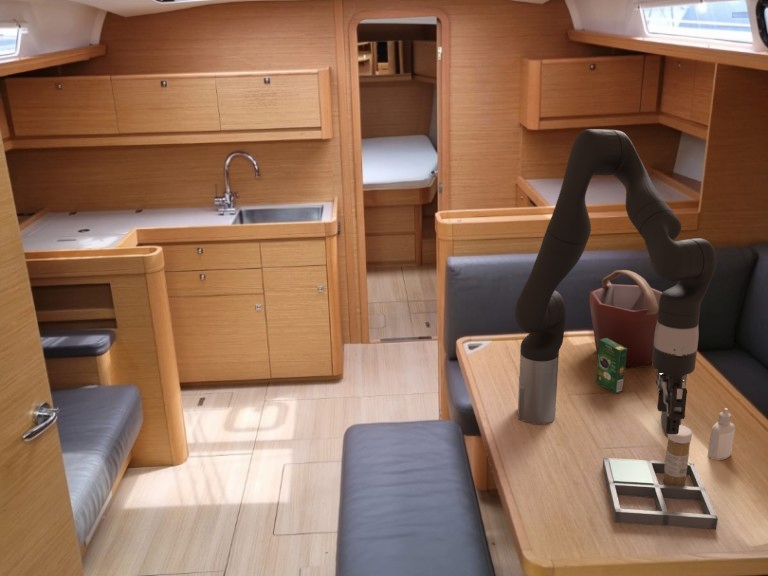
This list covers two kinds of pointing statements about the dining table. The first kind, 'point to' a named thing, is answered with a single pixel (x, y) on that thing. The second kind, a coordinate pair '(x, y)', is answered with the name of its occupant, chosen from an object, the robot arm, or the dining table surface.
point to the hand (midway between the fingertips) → (667, 421)
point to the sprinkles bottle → (677, 457)
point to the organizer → (655, 494)
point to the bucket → (626, 316)
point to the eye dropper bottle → (721, 437)
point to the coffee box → (611, 365)
